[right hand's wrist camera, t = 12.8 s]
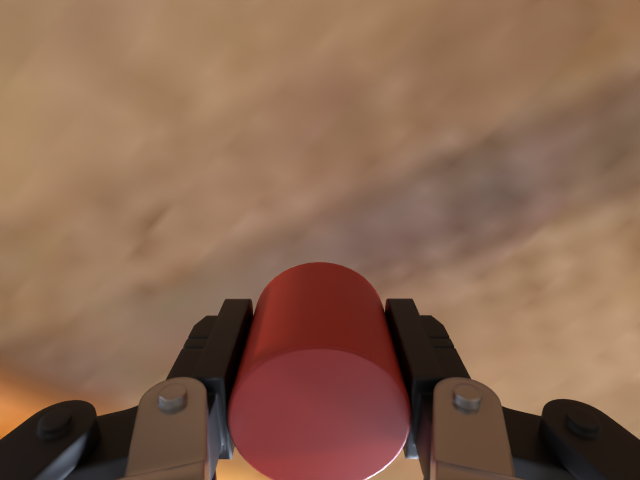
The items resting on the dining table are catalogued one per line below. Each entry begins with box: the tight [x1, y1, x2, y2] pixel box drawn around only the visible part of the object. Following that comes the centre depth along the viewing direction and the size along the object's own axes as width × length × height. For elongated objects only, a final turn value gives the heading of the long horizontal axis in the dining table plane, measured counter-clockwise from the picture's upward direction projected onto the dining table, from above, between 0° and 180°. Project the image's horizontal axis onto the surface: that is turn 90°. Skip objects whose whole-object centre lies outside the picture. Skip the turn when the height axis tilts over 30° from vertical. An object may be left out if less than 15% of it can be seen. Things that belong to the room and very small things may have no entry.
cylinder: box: [227, 262, 412, 480], centre depth 11 cm, size 4×4×4 cm
